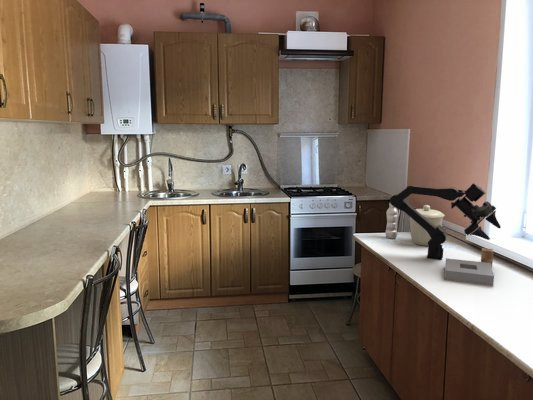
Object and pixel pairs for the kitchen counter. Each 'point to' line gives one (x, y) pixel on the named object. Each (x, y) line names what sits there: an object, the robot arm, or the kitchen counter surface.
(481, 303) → the kitchen counter surface
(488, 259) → the walnut post
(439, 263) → the kitchen counter surface
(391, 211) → the plastic bottle
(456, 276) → the well block
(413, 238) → the canister
